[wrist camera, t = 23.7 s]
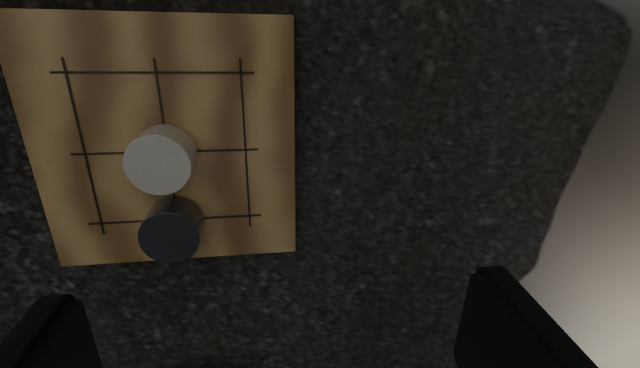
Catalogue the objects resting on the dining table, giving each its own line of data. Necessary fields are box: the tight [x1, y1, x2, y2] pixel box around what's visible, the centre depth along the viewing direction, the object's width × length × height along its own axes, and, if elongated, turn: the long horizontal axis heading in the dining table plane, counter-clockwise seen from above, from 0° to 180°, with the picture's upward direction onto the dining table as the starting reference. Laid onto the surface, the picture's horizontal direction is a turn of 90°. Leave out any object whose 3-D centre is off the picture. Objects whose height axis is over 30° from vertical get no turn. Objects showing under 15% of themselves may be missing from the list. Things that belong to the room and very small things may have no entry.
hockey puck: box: [137, 196, 205, 264], centre depth 31 cm, size 5×5×3 cm
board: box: [0, 8, 296, 266], centre depth 30 cm, size 20×20×1 cm
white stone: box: [123, 124, 197, 195], centre depth 28 cm, size 5×5×3 cm
